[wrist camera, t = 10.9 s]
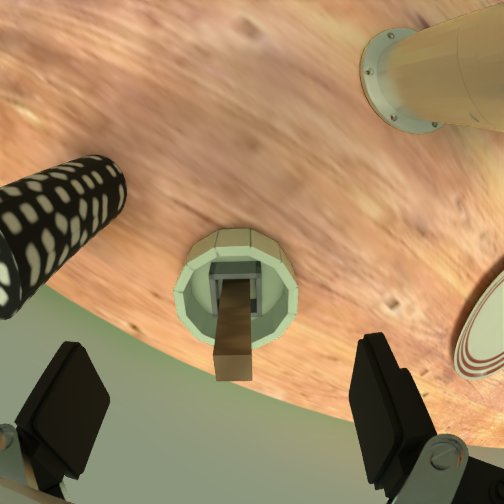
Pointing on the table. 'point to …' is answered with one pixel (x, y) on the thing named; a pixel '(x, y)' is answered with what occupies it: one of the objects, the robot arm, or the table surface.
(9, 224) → the white-spotted black cylinder
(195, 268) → the green faceted socket ring
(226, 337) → the wooden rectangular post
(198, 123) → the table surface
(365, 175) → the table surface
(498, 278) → the dinner plate
